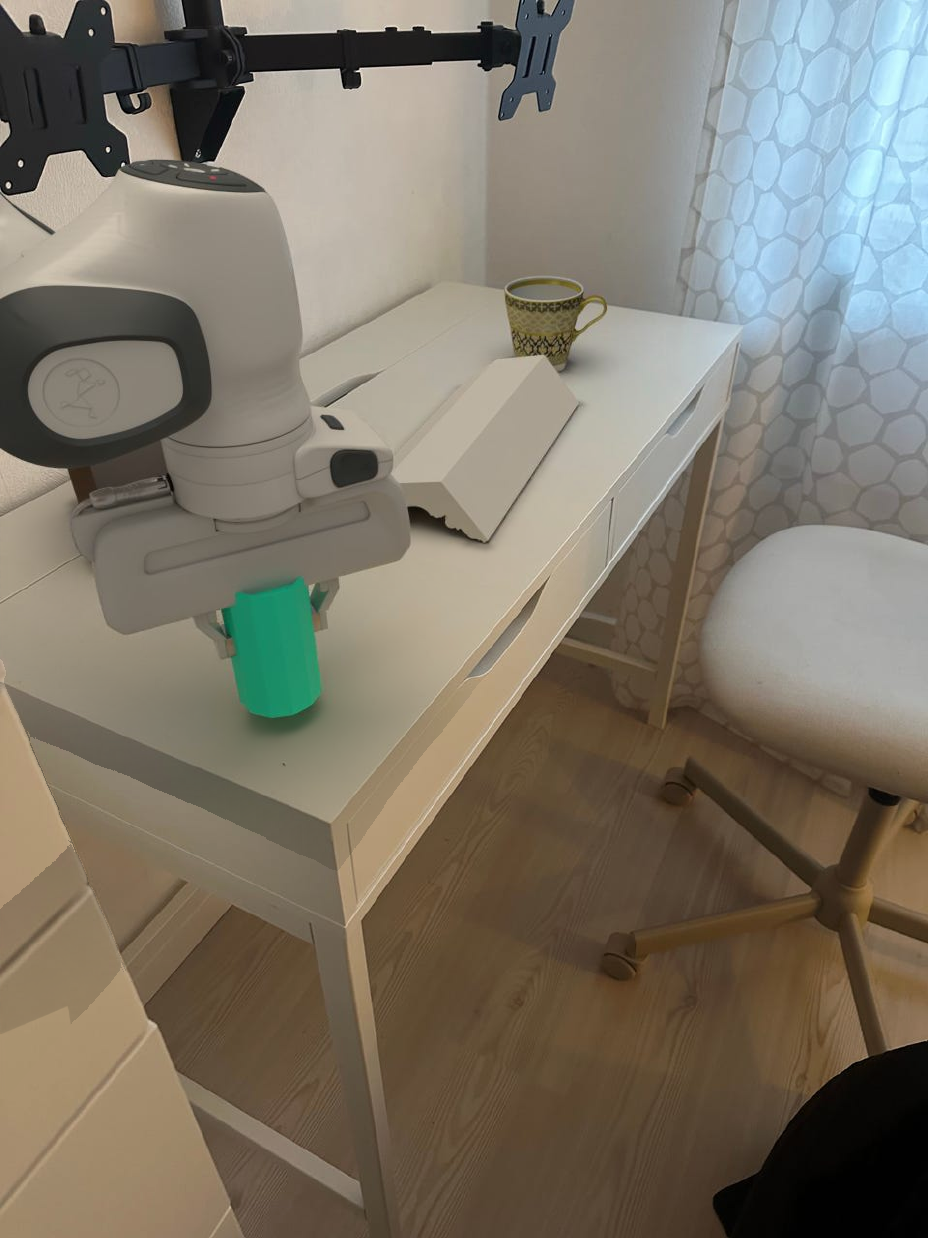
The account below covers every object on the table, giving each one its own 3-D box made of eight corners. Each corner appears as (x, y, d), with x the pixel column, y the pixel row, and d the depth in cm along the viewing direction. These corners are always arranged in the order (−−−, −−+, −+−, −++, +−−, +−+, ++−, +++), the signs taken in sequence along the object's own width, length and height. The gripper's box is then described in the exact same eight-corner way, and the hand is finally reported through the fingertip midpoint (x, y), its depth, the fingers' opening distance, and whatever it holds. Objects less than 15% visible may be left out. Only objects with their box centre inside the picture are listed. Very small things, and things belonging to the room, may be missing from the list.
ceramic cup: (496, 376, 115) (496, 298, 109) (511, 348, 123) (512, 273, 117) (597, 384, 112) (603, 304, 106) (606, 355, 120) (612, 278, 114)
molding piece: (508, 448, 115) (460, 385, 112) (579, 402, 107) (529, 334, 105) (406, 587, 91) (341, 512, 88) (488, 540, 83) (420, 456, 81)
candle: (307, 654, 68) (288, 517, 61) (334, 702, 64) (316, 561, 56) (229, 677, 66) (200, 538, 59) (251, 728, 62) (222, 585, 54)
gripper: (68, 524, 48) (127, 714, 56) (416, 445, 55) (423, 623, 63) (53, 474, 52) (110, 657, 61) (377, 407, 60) (388, 578, 68)
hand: (273, 639), depth 62 cm, fingers closed on candle, 5 cm apart
